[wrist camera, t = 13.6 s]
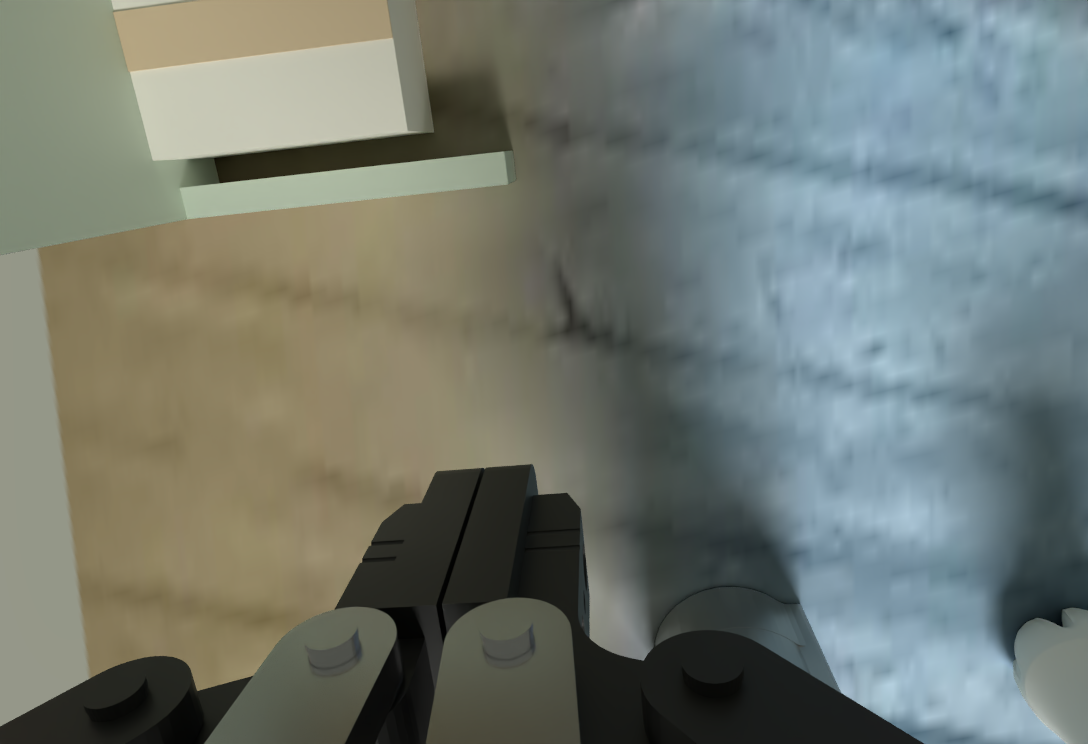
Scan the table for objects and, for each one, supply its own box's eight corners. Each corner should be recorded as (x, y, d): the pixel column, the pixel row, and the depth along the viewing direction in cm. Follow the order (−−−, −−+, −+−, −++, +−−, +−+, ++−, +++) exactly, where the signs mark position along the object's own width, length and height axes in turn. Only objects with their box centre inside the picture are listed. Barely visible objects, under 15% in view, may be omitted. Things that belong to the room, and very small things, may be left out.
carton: (403, -85, 35) (366, -131, 29) (435, 132, 38) (406, 130, 32) (168, -51, 36) (86, -89, 30) (217, 157, 39) (151, 160, 33)
